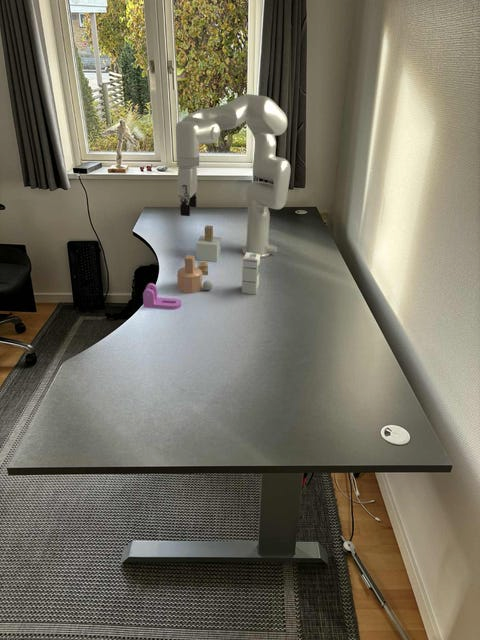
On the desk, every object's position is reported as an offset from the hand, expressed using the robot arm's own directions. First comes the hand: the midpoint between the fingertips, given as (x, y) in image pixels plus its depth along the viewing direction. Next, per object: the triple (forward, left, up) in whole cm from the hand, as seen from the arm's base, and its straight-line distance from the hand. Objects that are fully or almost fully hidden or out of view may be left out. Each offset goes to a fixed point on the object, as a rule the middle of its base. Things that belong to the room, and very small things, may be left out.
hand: (188, 211), depth 172 cm
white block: (-1, -30, -30) cm, 43 cm away
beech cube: (-2, -14, -30) cm, 34 cm away
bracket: (+6, +15, -31) cm, 35 cm away
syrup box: (-23, -3, -31) cm, 38 cm away
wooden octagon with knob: (0, 0, -30) cm, 30 cm away
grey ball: (-7, 0, -28) cm, 29 cm away
